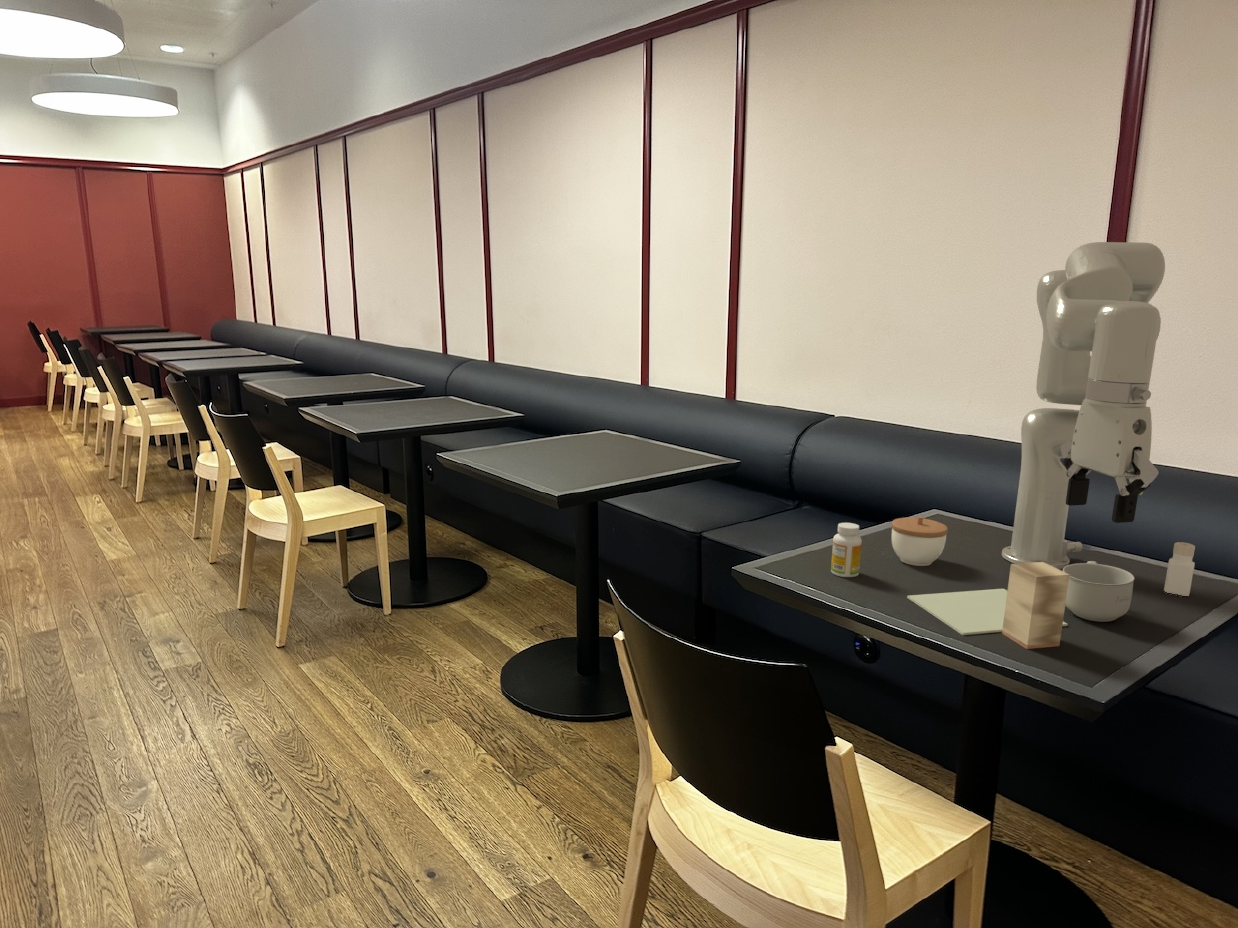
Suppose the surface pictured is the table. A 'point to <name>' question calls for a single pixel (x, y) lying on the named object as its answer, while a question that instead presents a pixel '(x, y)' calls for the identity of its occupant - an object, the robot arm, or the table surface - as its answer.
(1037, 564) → the maple block
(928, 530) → the lidded jar
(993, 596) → the sage mat
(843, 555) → the supplement bottle
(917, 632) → the table surface
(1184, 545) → the pepper shaker
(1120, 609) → the teacup
